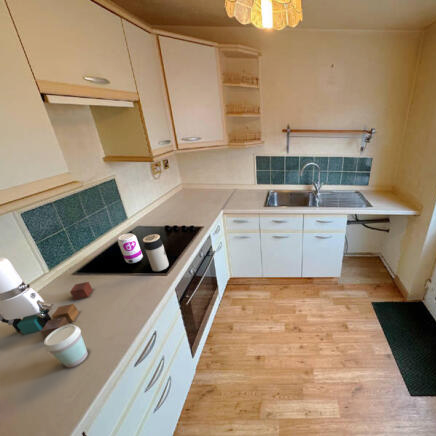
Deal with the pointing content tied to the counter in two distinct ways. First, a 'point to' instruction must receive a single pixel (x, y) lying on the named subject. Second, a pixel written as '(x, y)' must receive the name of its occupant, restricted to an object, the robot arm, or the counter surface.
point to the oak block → (66, 312)
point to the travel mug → (155, 252)
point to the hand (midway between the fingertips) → (35, 325)
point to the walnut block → (53, 325)
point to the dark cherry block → (81, 290)
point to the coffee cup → (66, 345)
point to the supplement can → (130, 248)
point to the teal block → (30, 324)
